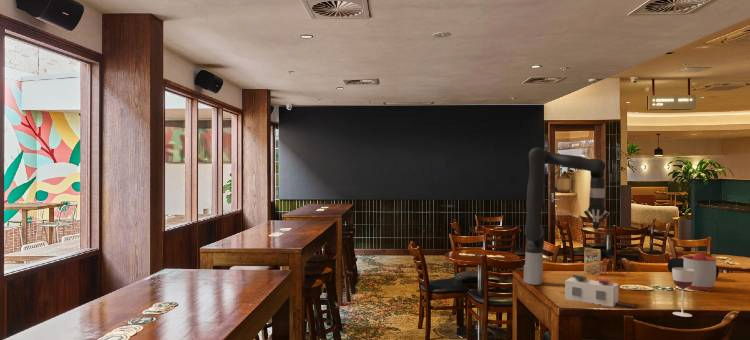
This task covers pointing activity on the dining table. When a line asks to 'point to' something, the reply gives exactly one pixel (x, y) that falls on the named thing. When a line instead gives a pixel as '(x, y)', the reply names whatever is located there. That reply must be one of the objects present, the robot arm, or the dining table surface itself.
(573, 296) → the switch box
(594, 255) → the candy box
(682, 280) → the wineglass
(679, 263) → the portable speaker
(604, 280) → the red rocker
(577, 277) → the black rocker
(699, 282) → the citrus juicer
